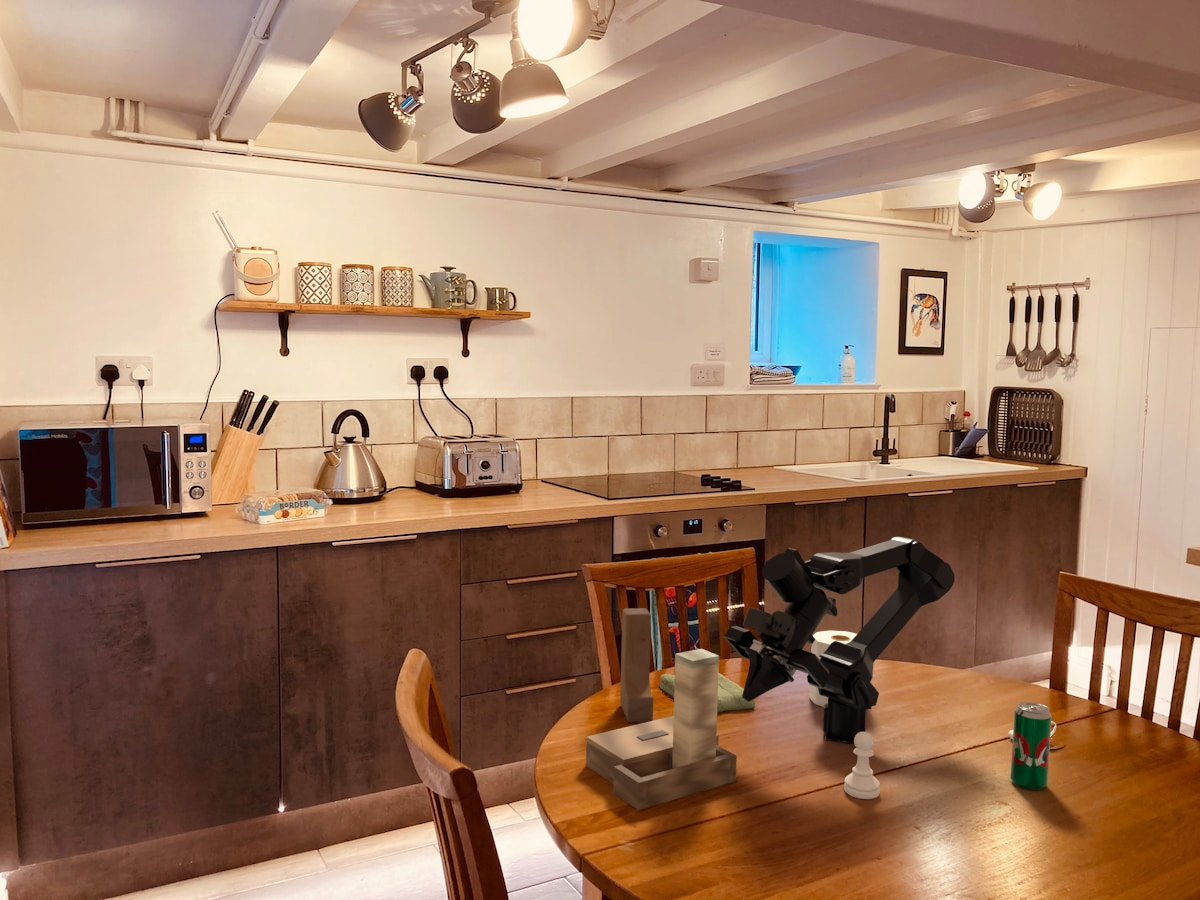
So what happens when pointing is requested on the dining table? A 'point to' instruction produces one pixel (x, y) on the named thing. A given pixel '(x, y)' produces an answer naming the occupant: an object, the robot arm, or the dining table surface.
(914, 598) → the robot arm
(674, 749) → the tall beige rectangular block
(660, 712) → the dining table surface
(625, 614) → the wooden block
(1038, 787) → the soda can
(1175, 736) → the dining table surface
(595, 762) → the box with sliding lid
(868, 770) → the chess pawn
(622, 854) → the dining table surface
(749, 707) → the washcloth
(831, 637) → the toilet paper
